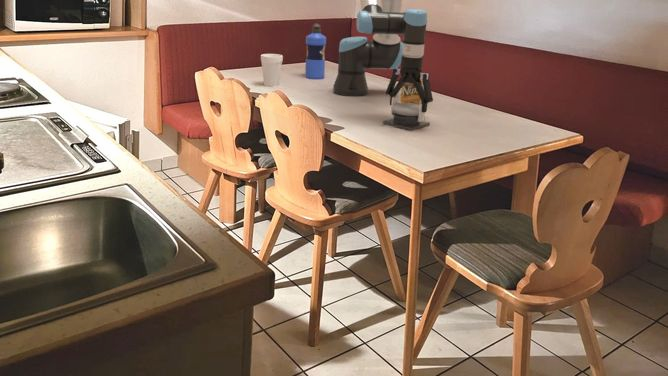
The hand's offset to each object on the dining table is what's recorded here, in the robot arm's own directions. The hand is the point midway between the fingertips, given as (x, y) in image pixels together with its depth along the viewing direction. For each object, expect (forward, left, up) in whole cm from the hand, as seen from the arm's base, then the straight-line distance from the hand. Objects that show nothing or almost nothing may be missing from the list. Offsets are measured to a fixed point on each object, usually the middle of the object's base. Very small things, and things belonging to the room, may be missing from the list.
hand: (407, 117), depth 231 cm
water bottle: (-79, +40, -3) cm, 89 cm away
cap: (0, 0, 0) cm, 0 cm away
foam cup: (-79, +11, -3) cm, 80 cm away
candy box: (-7, +14, -3) cm, 16 cm away
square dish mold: (0, 0, -3) cm, 3 cm away
